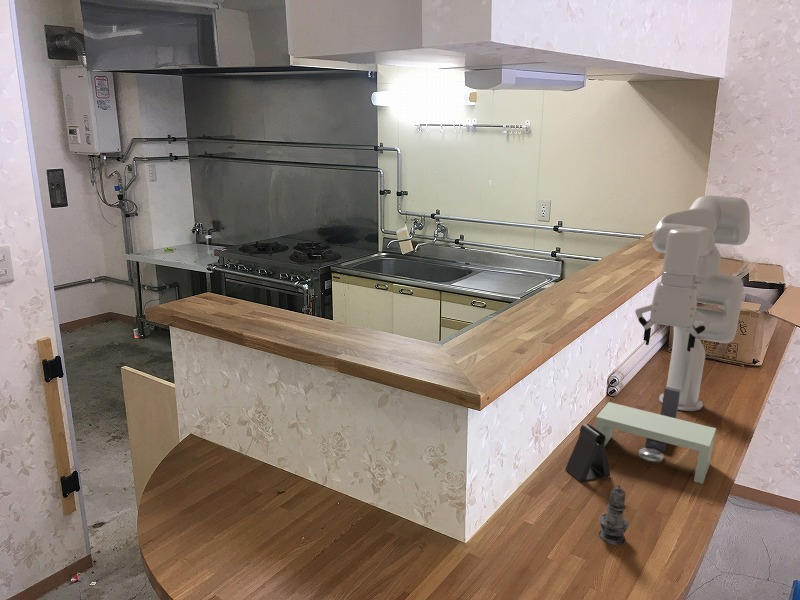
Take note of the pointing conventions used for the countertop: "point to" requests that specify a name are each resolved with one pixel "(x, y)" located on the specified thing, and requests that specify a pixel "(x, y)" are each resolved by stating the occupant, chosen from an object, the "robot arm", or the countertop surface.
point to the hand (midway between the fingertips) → (667, 346)
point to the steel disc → (651, 455)
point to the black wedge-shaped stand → (589, 456)
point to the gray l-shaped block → (666, 414)
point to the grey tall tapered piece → (614, 519)
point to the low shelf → (659, 431)
